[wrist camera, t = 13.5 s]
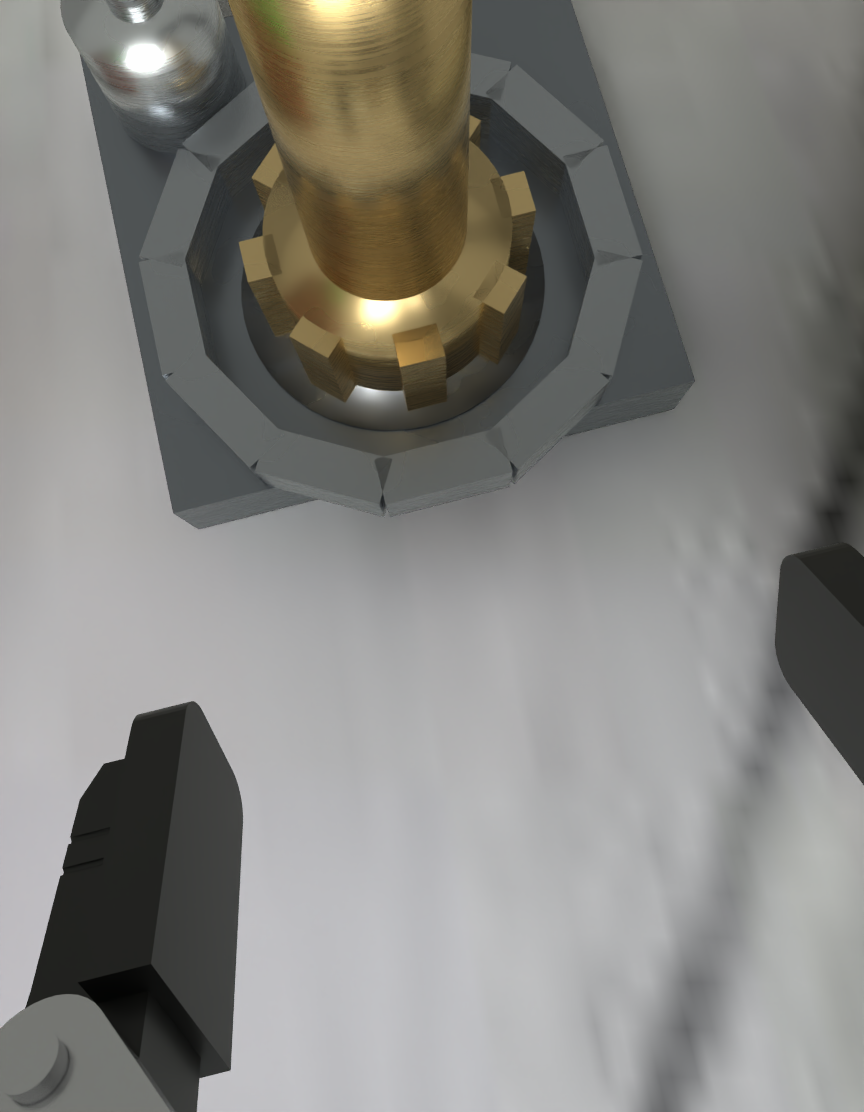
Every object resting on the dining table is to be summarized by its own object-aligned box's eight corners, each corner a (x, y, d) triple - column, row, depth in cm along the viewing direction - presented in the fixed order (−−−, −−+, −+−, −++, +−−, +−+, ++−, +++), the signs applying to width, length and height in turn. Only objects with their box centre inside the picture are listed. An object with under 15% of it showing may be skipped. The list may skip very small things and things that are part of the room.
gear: (487, 144, 19) (519, -432, 9) (555, 373, 18) (670, -1, 8) (245, 205, 19) (19, -312, 9) (299, 438, 18) (112, 136, 8)
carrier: (542, -2, 22) (571, -235, 16) (689, 458, 20) (779, 367, 14) (110, 105, 22) (-7, -94, 16) (209, 580, 20) (112, 536, 14)
